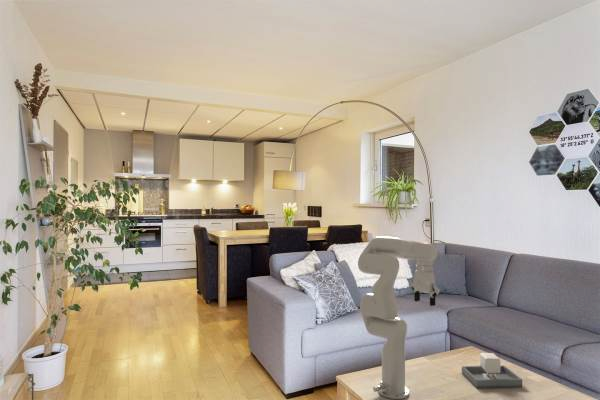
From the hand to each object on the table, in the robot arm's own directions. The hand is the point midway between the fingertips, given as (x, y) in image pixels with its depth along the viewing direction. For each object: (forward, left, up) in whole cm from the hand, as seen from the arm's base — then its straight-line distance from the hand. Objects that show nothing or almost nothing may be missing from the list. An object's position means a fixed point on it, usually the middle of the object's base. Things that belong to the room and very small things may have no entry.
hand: (424, 303), depth 188 cm
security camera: (+13, -26, -30) cm, 41 cm away
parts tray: (+13, -26, -30) cm, 42 cm away
